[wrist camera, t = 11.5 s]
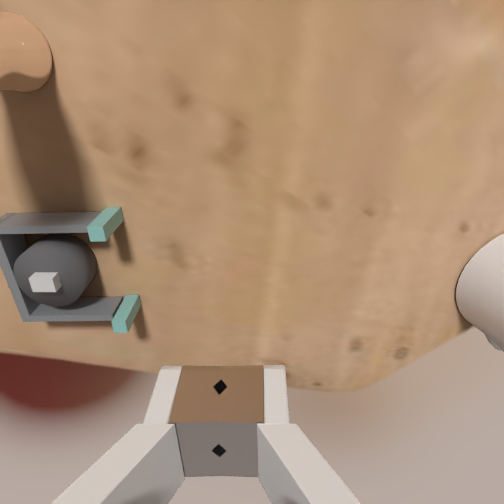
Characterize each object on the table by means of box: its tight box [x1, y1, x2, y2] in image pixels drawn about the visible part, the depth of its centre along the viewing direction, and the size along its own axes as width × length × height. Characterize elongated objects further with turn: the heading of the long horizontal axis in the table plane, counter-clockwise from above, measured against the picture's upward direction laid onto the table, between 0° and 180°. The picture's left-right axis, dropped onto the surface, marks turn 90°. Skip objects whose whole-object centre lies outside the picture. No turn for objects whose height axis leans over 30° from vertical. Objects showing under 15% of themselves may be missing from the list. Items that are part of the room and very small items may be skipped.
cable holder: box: [0, 207, 141, 333], centre depth 39 cm, size 12×12×5 cm
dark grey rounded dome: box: [14, 233, 97, 307], centre depth 39 cm, size 7×7×5 cm
